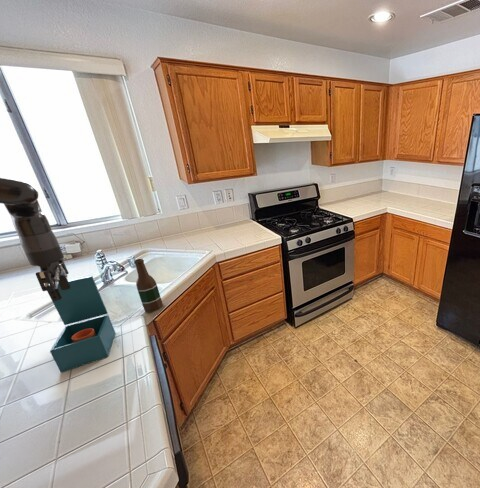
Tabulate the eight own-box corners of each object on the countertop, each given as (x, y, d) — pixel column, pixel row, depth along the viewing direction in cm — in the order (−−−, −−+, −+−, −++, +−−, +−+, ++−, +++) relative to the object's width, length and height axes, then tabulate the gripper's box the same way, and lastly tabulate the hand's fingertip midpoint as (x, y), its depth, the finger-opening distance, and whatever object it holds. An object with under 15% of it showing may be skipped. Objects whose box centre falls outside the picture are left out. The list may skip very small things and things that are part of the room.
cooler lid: (91, 276, 95) (94, 270, 99) (44, 286, 89) (50, 279, 93) (107, 313, 101) (109, 306, 105) (64, 325, 95) (68, 317, 100)
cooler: (108, 356, 91) (99, 336, 89) (60, 372, 86) (49, 351, 83) (115, 333, 104) (108, 314, 101) (74, 345, 99) (65, 325, 96)
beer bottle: (167, 304, 123) (152, 257, 115) (150, 313, 116) (134, 264, 108) (156, 301, 126) (142, 255, 118) (140, 310, 119) (123, 262, 112)
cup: (76, 358, 91) (69, 341, 88) (81, 348, 96) (74, 332, 93) (98, 351, 93) (91, 335, 91) (101, 341, 98) (95, 326, 96)
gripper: (49, 251, 76) (70, 300, 81) (65, 239, 87) (82, 282, 93) (13, 257, 72) (37, 308, 77) (34, 244, 84) (54, 289, 89)
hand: (62, 294), depth 85 cm, fingers open, 8 cm apart
